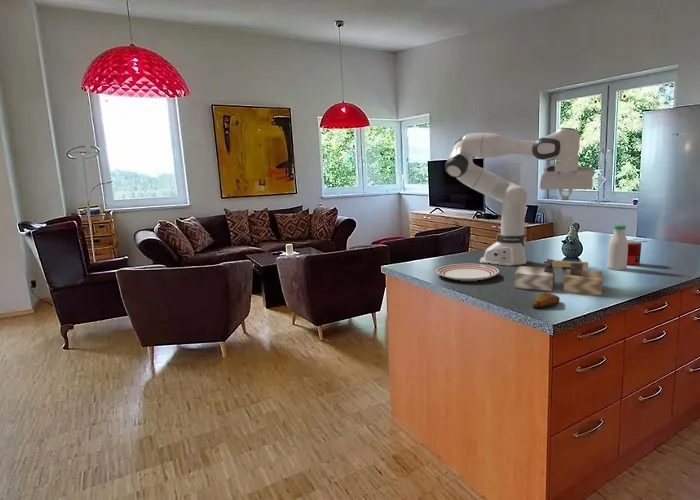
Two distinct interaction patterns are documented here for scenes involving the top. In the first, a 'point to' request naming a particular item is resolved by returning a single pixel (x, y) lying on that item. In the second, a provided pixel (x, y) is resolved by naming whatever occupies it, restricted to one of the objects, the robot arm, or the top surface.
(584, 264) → the latch bar
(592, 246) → the top surface
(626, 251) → the milk bottle
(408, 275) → the top surface
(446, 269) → the dinner plate
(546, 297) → the croissant
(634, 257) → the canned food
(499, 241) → the robot arm
